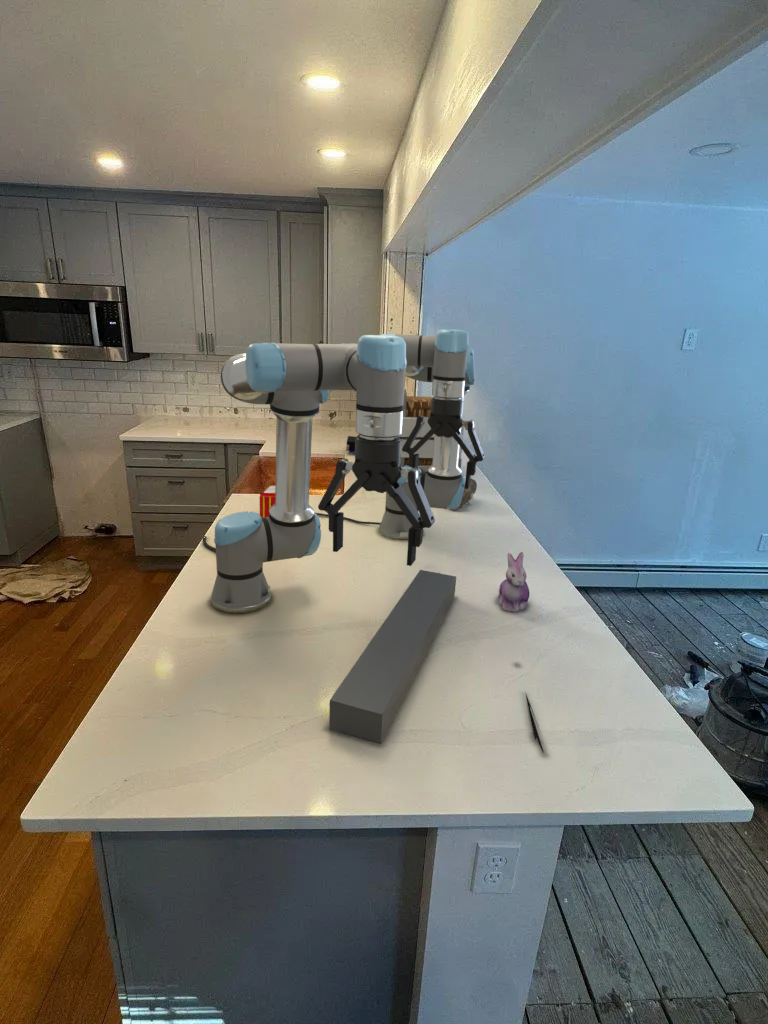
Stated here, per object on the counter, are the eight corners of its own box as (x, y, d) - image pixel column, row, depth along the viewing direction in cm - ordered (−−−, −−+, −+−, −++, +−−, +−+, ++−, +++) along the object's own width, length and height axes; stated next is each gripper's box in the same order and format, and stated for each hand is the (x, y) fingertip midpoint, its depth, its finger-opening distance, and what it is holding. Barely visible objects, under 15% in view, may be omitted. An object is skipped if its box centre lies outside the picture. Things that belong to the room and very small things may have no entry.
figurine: (511, 616, 149) (518, 564, 143) (487, 598, 157) (493, 549, 152) (539, 609, 153) (547, 558, 148) (514, 592, 161) (521, 544, 156)
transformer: (382, 463, 289) (386, 382, 275) (445, 464, 293) (451, 384, 279) (390, 482, 257) (394, 392, 243) (460, 483, 261) (468, 394, 247)
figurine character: (358, 457, 303) (358, 448, 316) (358, 444, 299) (359, 435, 313) (345, 457, 302) (346, 447, 316) (345, 443, 299) (347, 434, 313)
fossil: (440, 484, 244) (470, 465, 239) (453, 501, 247) (482, 482, 242) (440, 506, 224) (472, 486, 219) (454, 524, 227) (486, 504, 222)
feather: (517, 669, 129) (522, 662, 128) (543, 757, 102) (550, 750, 102) (511, 665, 129) (516, 659, 128) (535, 752, 102) (542, 745, 101)
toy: (300, 481, 221) (289, 494, 192) (300, 514, 224) (289, 533, 194) (268, 480, 221) (253, 493, 191) (269, 514, 223) (254, 532, 194)
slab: (418, 590, 160) (420, 569, 158) (454, 597, 157) (456, 576, 155) (329, 728, 106) (329, 700, 104) (380, 743, 103) (382, 714, 101)
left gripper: (298, 431, 92) (299, 551, 99) (448, 449, 84) (438, 577, 92) (318, 423, 99) (318, 536, 106) (459, 439, 91) (448, 560, 98)
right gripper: (392, 395, 135) (388, 480, 142) (497, 405, 127) (487, 494, 134) (401, 391, 141) (397, 473, 149) (502, 400, 134) (492, 486, 141)
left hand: (373, 555), depth 99 cm, fingers open, 13 cm apart
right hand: (440, 483), depth 141 cm, fingers open, 13 cm apart
